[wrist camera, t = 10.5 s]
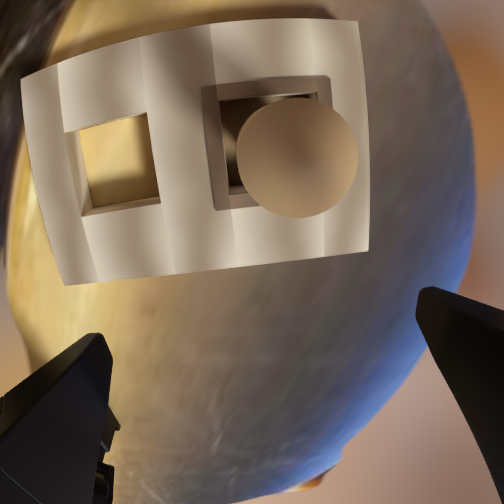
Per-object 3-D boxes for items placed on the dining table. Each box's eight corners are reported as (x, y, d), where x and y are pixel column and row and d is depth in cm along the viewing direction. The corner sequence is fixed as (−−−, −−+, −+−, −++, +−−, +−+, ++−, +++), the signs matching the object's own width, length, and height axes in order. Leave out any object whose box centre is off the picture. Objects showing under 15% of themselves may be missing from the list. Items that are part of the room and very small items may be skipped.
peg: (238, 176, 19) (244, 224, 11) (230, 110, 17) (230, 103, 9) (303, 170, 19) (358, 212, 11) (298, 105, 17) (354, 96, 9)
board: (75, 272, 21) (63, 287, 19) (36, 80, 15) (18, 79, 13) (357, 239, 21) (369, 252, 19) (345, 29, 15) (358, 20, 13)
